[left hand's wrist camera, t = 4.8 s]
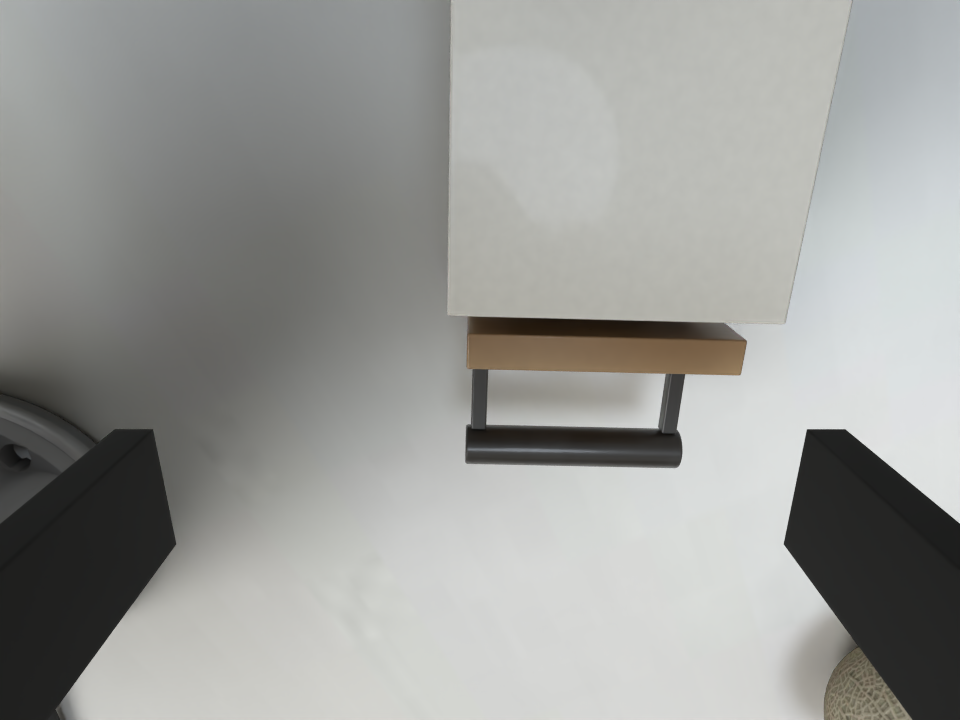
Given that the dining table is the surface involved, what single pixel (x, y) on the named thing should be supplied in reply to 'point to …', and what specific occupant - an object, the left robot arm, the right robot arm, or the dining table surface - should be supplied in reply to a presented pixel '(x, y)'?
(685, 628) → the dining table surface
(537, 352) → the drawer
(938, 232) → the dining table surface
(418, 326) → the dining table surface
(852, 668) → the fruit
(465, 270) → the cabinet
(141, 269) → the dining table surface
